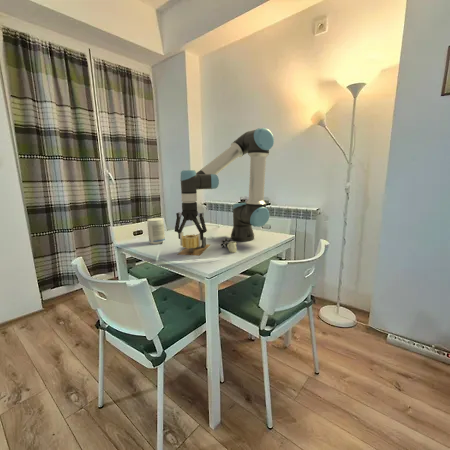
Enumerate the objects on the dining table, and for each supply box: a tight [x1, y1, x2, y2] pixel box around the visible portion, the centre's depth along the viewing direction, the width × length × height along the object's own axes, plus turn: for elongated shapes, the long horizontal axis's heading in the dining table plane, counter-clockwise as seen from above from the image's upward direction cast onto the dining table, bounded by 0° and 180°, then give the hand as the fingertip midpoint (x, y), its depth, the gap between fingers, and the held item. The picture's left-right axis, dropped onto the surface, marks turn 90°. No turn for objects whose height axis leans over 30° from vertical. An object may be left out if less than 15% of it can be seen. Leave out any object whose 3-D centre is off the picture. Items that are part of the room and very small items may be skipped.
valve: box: [219, 237, 238, 254], centre depth 133 cm, size 7×7×12 cm
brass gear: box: [181, 233, 199, 249], centre depth 129 cm, size 9×9×5 cm
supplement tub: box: [146, 217, 166, 245], centre depth 155 cm, size 10×10×15 cm
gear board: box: [177, 233, 211, 257], centre depth 135 cm, size 12×20×8 cm, turn 168°
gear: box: [195, 235, 207, 249], centre depth 139 cm, size 9×9×5 cm
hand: (191, 245), depth 130 cm, fingers closed on brass gear, 9 cm apart
